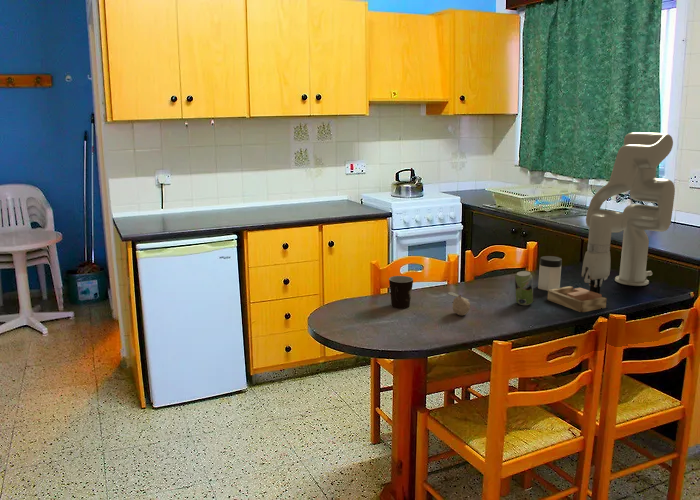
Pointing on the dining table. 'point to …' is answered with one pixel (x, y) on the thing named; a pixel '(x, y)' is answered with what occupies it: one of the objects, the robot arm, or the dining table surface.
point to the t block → (583, 294)
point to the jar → (549, 272)
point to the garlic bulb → (460, 305)
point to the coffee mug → (400, 291)
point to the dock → (574, 300)
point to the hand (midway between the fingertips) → (594, 296)
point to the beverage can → (524, 288)
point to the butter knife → (455, 294)
